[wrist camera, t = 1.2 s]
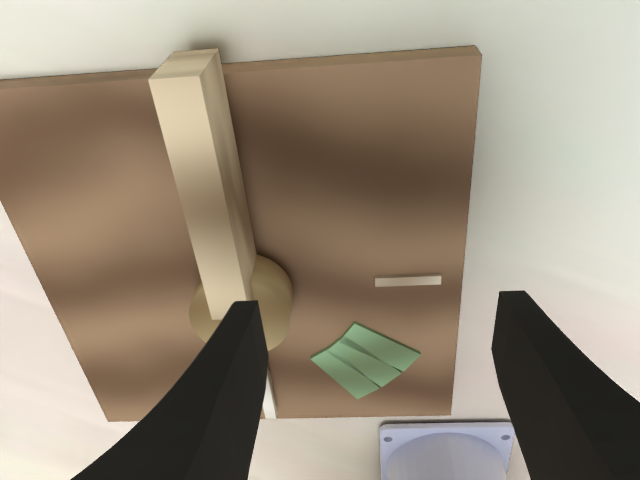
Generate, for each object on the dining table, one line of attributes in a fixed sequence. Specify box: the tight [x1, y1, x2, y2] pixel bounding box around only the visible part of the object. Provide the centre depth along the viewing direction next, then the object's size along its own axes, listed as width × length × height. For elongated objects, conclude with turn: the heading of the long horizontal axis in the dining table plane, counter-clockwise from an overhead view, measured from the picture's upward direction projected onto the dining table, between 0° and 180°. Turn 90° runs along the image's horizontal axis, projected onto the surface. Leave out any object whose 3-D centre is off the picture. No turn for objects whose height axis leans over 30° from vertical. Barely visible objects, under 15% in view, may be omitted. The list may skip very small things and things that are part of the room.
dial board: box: [0, 46, 482, 422], centre depth 26 cm, size 20×20×1 cm
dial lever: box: [148, 48, 293, 419], centre depth 23 cm, size 20×4×3 cm, turn 5°
